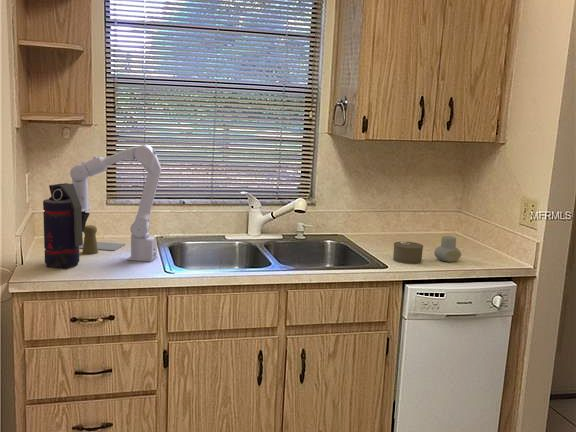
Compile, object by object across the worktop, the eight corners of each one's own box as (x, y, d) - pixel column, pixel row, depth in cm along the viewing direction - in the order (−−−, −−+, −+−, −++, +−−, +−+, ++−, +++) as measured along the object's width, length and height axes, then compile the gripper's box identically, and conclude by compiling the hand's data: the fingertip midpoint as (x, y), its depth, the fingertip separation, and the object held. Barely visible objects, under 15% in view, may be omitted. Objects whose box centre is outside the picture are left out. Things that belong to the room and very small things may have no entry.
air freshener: (440, 263, 250) (442, 239, 249) (430, 258, 258) (432, 235, 256) (463, 262, 254) (466, 239, 252) (452, 257, 261) (454, 234, 260)
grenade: (37, 266, 219) (35, 184, 214) (60, 259, 230) (58, 180, 225) (69, 271, 214) (67, 187, 209) (90, 264, 225) (89, 183, 220)
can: (401, 265, 245) (403, 248, 244) (387, 257, 256) (388, 241, 255) (427, 263, 249) (428, 247, 248) (412, 256, 260) (413, 241, 259)
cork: (93, 254, 239) (93, 227, 237) (79, 253, 240) (78, 226, 238) (101, 251, 245) (100, 224, 243) (87, 250, 246) (86, 223, 244)
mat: (125, 244, 258) (125, 243, 258) (114, 251, 247) (114, 250, 247) (88, 242, 260) (88, 241, 260) (76, 248, 248) (76, 247, 248)
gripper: (78, 193, 238) (78, 227, 240) (60, 198, 223) (61, 234, 226) (95, 194, 237) (96, 228, 239) (79, 199, 223) (80, 236, 225)
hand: (80, 231), depth 232 cm, fingers closed
